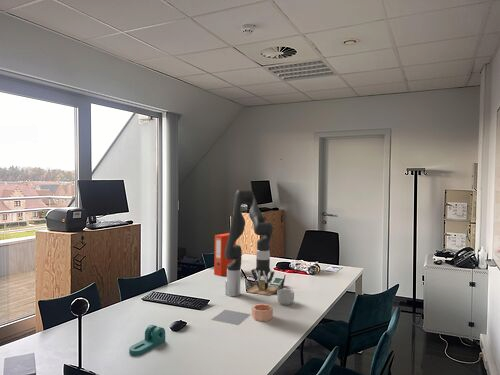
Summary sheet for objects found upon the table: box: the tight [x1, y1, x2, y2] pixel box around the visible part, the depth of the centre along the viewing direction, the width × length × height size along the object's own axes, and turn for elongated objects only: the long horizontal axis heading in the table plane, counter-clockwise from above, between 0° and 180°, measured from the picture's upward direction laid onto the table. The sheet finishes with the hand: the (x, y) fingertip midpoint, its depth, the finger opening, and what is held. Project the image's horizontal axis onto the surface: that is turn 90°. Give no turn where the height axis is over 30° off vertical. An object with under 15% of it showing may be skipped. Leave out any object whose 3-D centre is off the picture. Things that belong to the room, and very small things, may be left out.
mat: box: [210, 309, 252, 326], centre depth 208 cm, size 17×17×1 cm
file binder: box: [213, 232, 237, 277], centre depth 302 cm, size 8×17×32 cm, turn 142°
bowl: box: [251, 303, 274, 322], centre depth 208 cm, size 11×11×6 cm
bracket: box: [128, 324, 166, 357], centre depth 172 cm, size 18×7×8 cm, turn 150°
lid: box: [245, 279, 278, 297], centre depth 208 cm, size 14×14×6 cm
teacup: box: [276, 287, 295, 306], centre depth 234 cm, size 14×11×8 cm
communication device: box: [268, 274, 286, 296], centre depth 261 cm, size 12×24×9 cm, turn 159°
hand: (262, 288), depth 208 cm, fingers closed on lid, 3 cm apart
